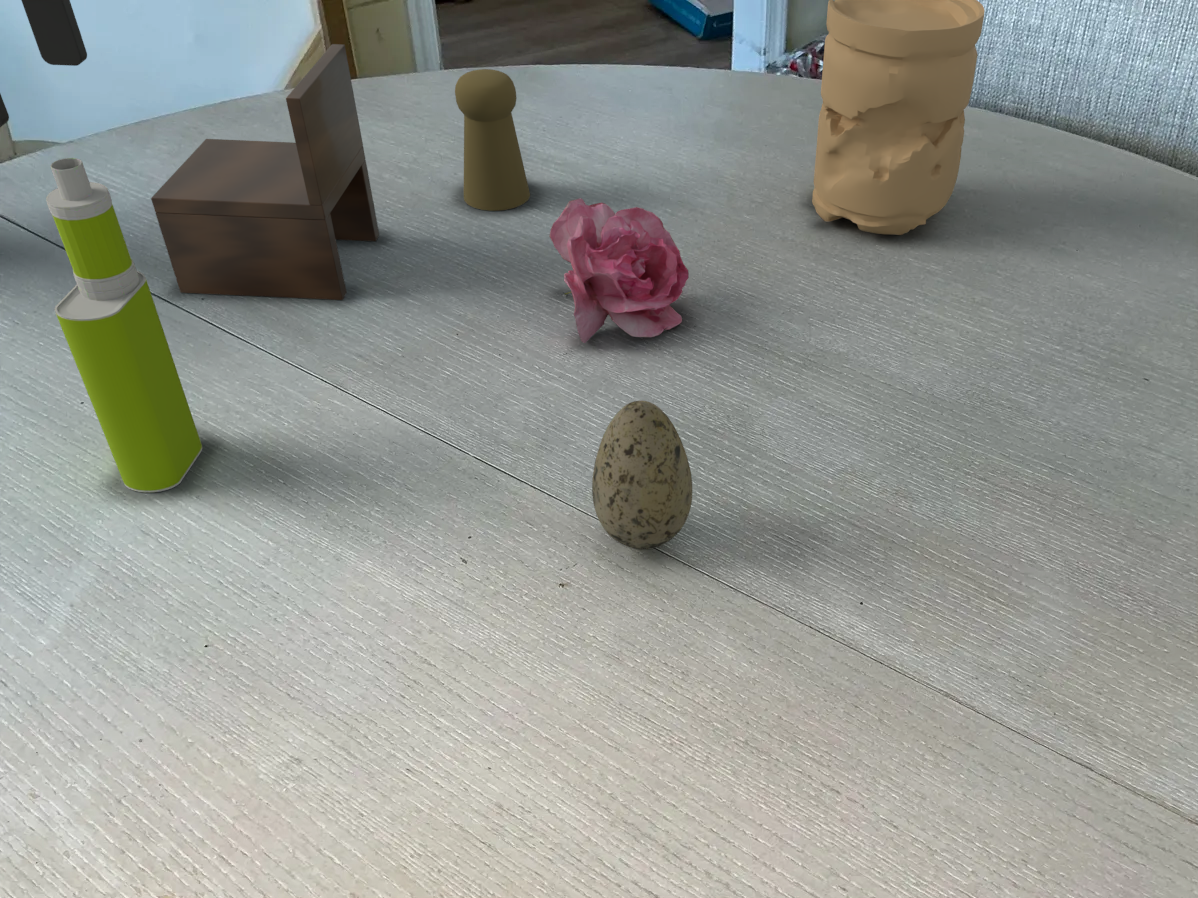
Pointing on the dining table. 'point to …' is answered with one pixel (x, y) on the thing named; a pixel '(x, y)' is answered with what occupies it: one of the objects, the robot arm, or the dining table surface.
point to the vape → (120, 339)
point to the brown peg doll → (490, 141)
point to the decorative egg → (641, 478)
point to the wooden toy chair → (274, 200)
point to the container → (893, 109)
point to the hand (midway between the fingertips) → (28, 93)
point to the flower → (619, 268)
